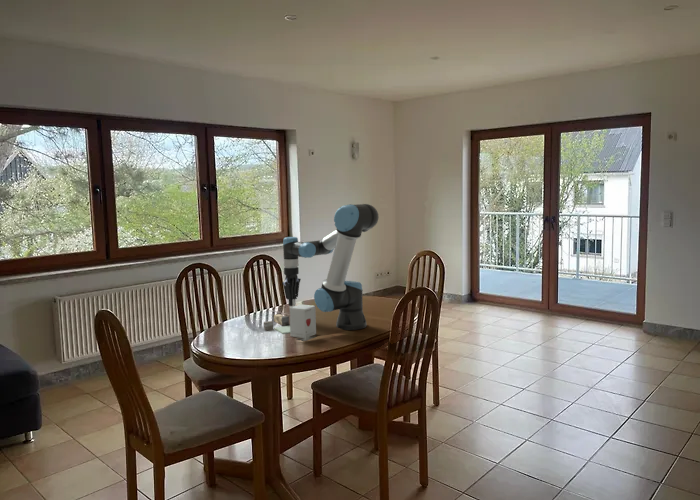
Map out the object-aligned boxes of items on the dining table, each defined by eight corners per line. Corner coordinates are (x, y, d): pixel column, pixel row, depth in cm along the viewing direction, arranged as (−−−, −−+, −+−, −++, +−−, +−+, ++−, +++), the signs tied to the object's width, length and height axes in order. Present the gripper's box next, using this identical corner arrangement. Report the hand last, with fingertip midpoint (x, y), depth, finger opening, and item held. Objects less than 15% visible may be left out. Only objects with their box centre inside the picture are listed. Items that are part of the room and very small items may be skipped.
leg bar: (290, 325, 272) (289, 317, 271) (283, 326, 270) (283, 318, 270) (280, 320, 284) (279, 312, 283) (273, 321, 282) (273, 313, 282)
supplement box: (305, 341, 247) (304, 309, 246) (290, 339, 252) (288, 307, 251) (317, 336, 255) (316, 305, 253) (301, 334, 260) (300, 303, 258)
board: (307, 333, 262) (306, 322, 262) (263, 340, 252) (263, 329, 251) (285, 321, 286) (284, 312, 286) (244, 327, 276) (244, 317, 275)
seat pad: (303, 330, 262) (303, 329, 262) (282, 334, 256) (282, 332, 256) (294, 326, 271) (294, 324, 271) (274, 329, 266) (274, 327, 266)
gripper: (292, 264, 288) (294, 308, 291) (277, 268, 277) (278, 313, 280) (304, 265, 284) (305, 309, 287) (289, 269, 273) (290, 314, 276)
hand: (292, 311), depth 283 cm, fingers closed
